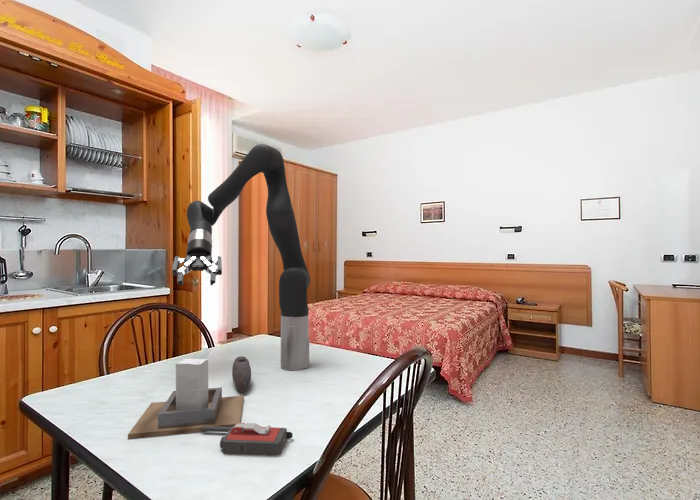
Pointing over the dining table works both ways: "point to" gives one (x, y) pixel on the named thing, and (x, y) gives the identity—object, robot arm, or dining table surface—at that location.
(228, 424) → the board
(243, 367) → the perforated stone tool
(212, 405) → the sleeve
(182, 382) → the skincare box
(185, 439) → the dining table surface
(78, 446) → the dining table surface
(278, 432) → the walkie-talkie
